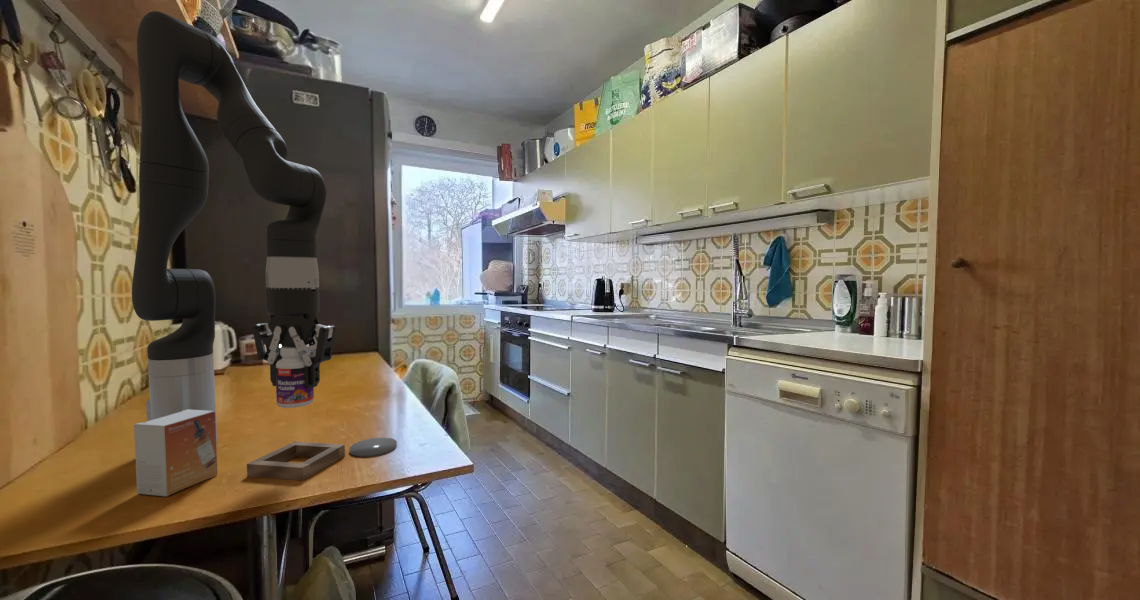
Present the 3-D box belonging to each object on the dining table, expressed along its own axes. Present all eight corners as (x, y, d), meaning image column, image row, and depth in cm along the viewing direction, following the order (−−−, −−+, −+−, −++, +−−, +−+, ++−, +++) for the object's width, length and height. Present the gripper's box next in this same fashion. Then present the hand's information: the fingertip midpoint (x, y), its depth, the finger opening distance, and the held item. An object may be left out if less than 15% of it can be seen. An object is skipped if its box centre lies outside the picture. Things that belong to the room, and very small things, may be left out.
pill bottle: (273, 410, 73) (271, 349, 73) (280, 401, 78) (278, 344, 78) (311, 406, 75) (310, 348, 75) (316, 398, 80) (315, 343, 80)
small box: (166, 498, 66) (162, 426, 65) (135, 494, 67) (131, 423, 66) (219, 474, 74) (216, 410, 73) (191, 472, 75) (188, 408, 74)
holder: (247, 476, 73) (246, 463, 73) (294, 452, 83) (294, 441, 83) (303, 480, 71) (302, 467, 71) (344, 455, 81) (344, 444, 81)
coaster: (339, 455, 81) (339, 452, 81) (366, 439, 89) (366, 436, 89) (381, 458, 80) (381, 454, 80) (405, 441, 88) (404, 438, 88)
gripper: (235, 284, 73) (238, 389, 74) (316, 286, 71) (318, 394, 72) (272, 283, 80) (275, 379, 81) (347, 285, 78) (348, 383, 79)
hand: (295, 385), depth 77 cm, fingers closed on pill bottle, 5 cm apart
